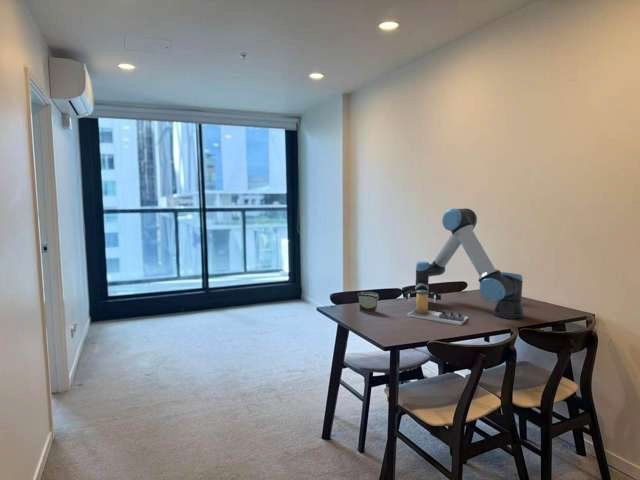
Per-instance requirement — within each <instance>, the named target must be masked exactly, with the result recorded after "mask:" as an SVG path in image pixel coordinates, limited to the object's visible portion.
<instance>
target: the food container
mask: <svg viewBox="0 0 640 480" xmlns="http://www.w3.org/2000/svg"><path fill="white" fill-rule="evenodd" d="M357 297H358V304H359V307H358V308H359V312H364V313H371V314H376V313H377V308H378V300H379V299H380V296H379V294H378V293H377V292H371V291H361V292H358V293H357Z"/></svg>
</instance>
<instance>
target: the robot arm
mask: <svg viewBox="0 0 640 480" xmlns="http://www.w3.org/2000/svg"><path fill="white" fill-rule="evenodd" d="M477 217H478V216H477V214H476V212H475V211H474V210H473V209H471V208H451V209H447V210H446V211H445V213H444V214H443V216H442V219H441V220H442V225H443V228H444V229H445V230H446V231H450V232H451V234H450V235H449V238H448V239H447V241H446V242H445V244H444V245H443V246H442V248H441V250H440V251H439V253H438V254H437V256H436V257H435V258H434V260H433V261H432V263H429V261H417V262H416V263H415V265H416V267H415V287H414V288H415V289H414V291H413V290H411V289H410V290H408V291H405V292H402V298H405V300H407V302H410V298H416V297H417V293H416V290H427V291H429V279H430V278H431V277H436V276H438V277H439V276H441V275H443V274H445V272H446V266H447V265H448V263H449V262H450V260H451V259H452V258H453V256H454V254H455V253H456V252H457V250H458V249H459V247H460V246H462V248H463V250H464V251H465V254H466V255H467V257H468V258H469V260H470V262H471V264H472V265H473V267H474V269H475V271H476V272H477V274H478V276H479V277H478V282H479V292H480V294H481V297H482V296H483V297H482V298H484V299H486V300H488V301H492V302H495V301H496V303H495V306H494V308H493V313H492V314H493V315H494V316H495V315H496V317H497V318H501V317H502V319H507V318H509V320H517V319H516V318H522V317H524V318H525V311H524V307H523V305H522V304H523V303H522V295H523V293H522V292H523V282H524V281H523V276H522V274H519V273H513V272H507V271H505V272H504V271H501V270H500V269H497V268H496V267H495V266H494V264H493V263H492V261H491V259H490V258H489V256H488V254H487V253H486V251H485V249H484V248H483V245H482V244H481V242H480V241H479V239H478V237H477V236H476V234H475V232H474V229H475V228H476V225H477V223H478V218H477ZM428 299H432V300H433V303H434V304H436V303H437V301H441V300H442V295H441V294H439V293H437V292H435V291H431V292H430V291H429V294H428ZM522 319H523V318H522Z"/></svg>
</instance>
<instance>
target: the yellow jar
mask: <svg viewBox="0 0 640 480" xmlns="http://www.w3.org/2000/svg"><path fill="white" fill-rule="evenodd" d="M429 292H430V291H429V290H428V291H427V290H416V293H417V297H415V298H416V300H415V301H416V302H415V303H416V305H415V309H416V313H419V314H426V313H428V310H429V309H428V306H429V298H428V294H429Z"/></svg>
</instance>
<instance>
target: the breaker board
mask: <svg viewBox="0 0 640 480" xmlns="http://www.w3.org/2000/svg"><path fill="white" fill-rule="evenodd" d="M454 313H455V312H454V311H450V313H447V311H446V309H444V310H442V312H439V311H435V310H431V309H428V313H426V314H419V313H416V308H415V309H413V310H412V311H410V312H408V313H407V314H406V315H407V317H409V318H415V319H423V320H428V321H434V322H439V323H445V324H446V323H447V324H452V325H459V326H462V325H463V324H464V323H465V322H467V321H468V320H469V319H468V318H469V317H468V316H464V315H463V313H462V312H459V313H458V314H454ZM467 319H468V320H467Z"/></svg>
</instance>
